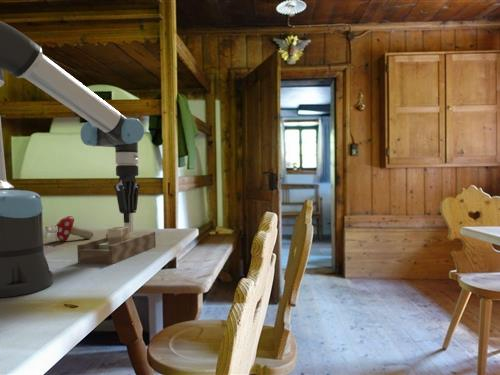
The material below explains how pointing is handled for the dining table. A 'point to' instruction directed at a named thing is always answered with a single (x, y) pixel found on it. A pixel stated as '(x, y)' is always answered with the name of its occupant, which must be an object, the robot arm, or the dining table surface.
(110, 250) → the box
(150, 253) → the dining table surface
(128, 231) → the maple block
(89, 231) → the decorative mushroom
